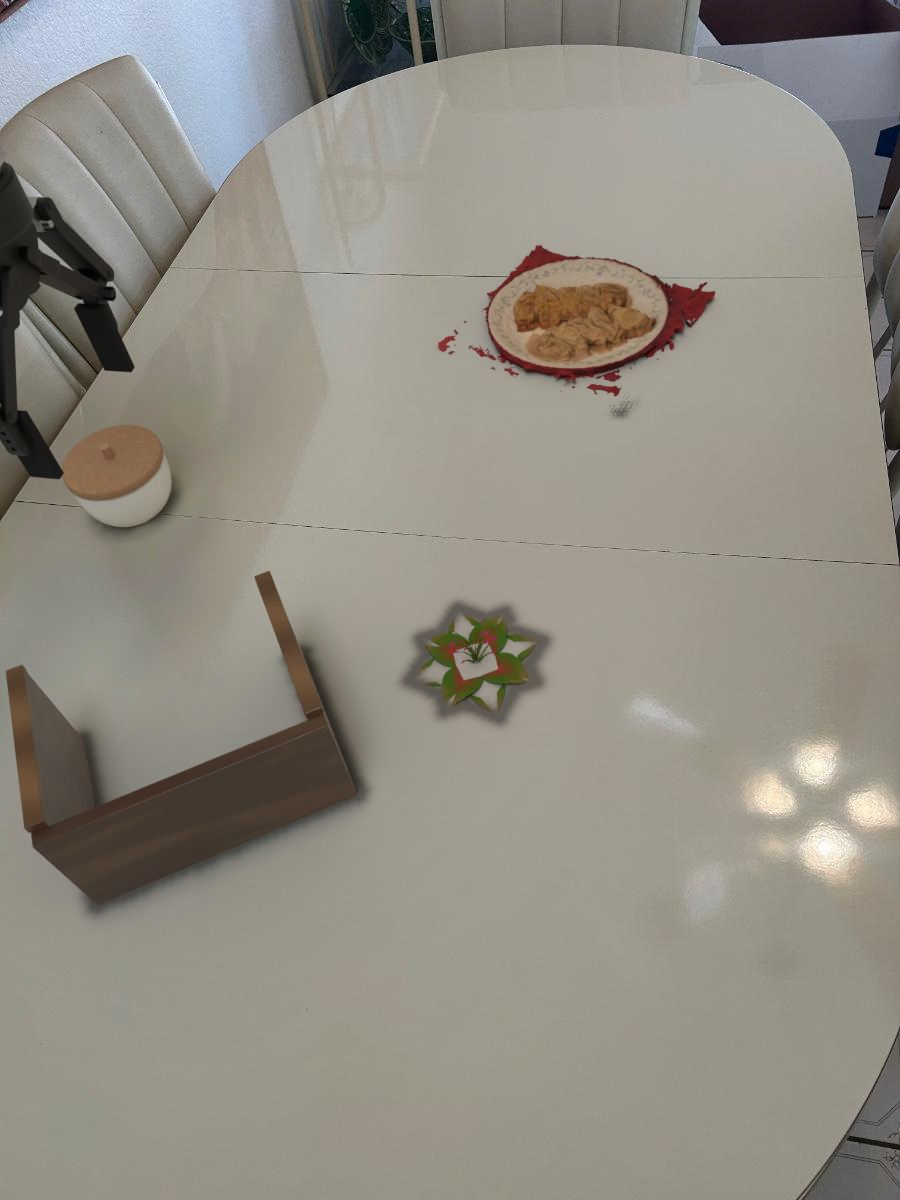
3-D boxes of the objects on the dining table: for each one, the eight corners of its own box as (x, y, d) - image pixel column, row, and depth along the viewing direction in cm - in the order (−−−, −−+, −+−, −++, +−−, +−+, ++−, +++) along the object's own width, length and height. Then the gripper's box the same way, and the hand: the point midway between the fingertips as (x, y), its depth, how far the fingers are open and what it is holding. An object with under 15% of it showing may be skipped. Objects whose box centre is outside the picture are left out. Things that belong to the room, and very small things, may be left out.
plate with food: (539, 257, 127) (537, 233, 124) (715, 301, 115) (717, 277, 112) (436, 357, 116) (432, 334, 114) (618, 417, 105) (618, 393, 102)
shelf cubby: (73, 748, 86) (5, 670, 76) (305, 656, 89) (269, 570, 79) (99, 909, 76) (25, 843, 66) (360, 798, 79) (326, 719, 69)
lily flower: (505, 740, 81) (501, 713, 77) (388, 692, 85) (379, 663, 82) (563, 638, 87) (562, 608, 83) (451, 597, 91) (445, 567, 88)
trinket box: (203, 486, 106) (174, 423, 98) (147, 554, 100) (113, 492, 93) (129, 466, 109) (96, 404, 102) (71, 531, 104) (32, 469, 96)
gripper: (-105, 287, 55) (54, 530, 72) (87, 93, 70) (182, 332, 86) (-207, 283, 57) (-29, 521, 73) (0, 94, 71) (110, 328, 88)
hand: (85, 419), depth 80 cm, fingers open, 13 cm apart
